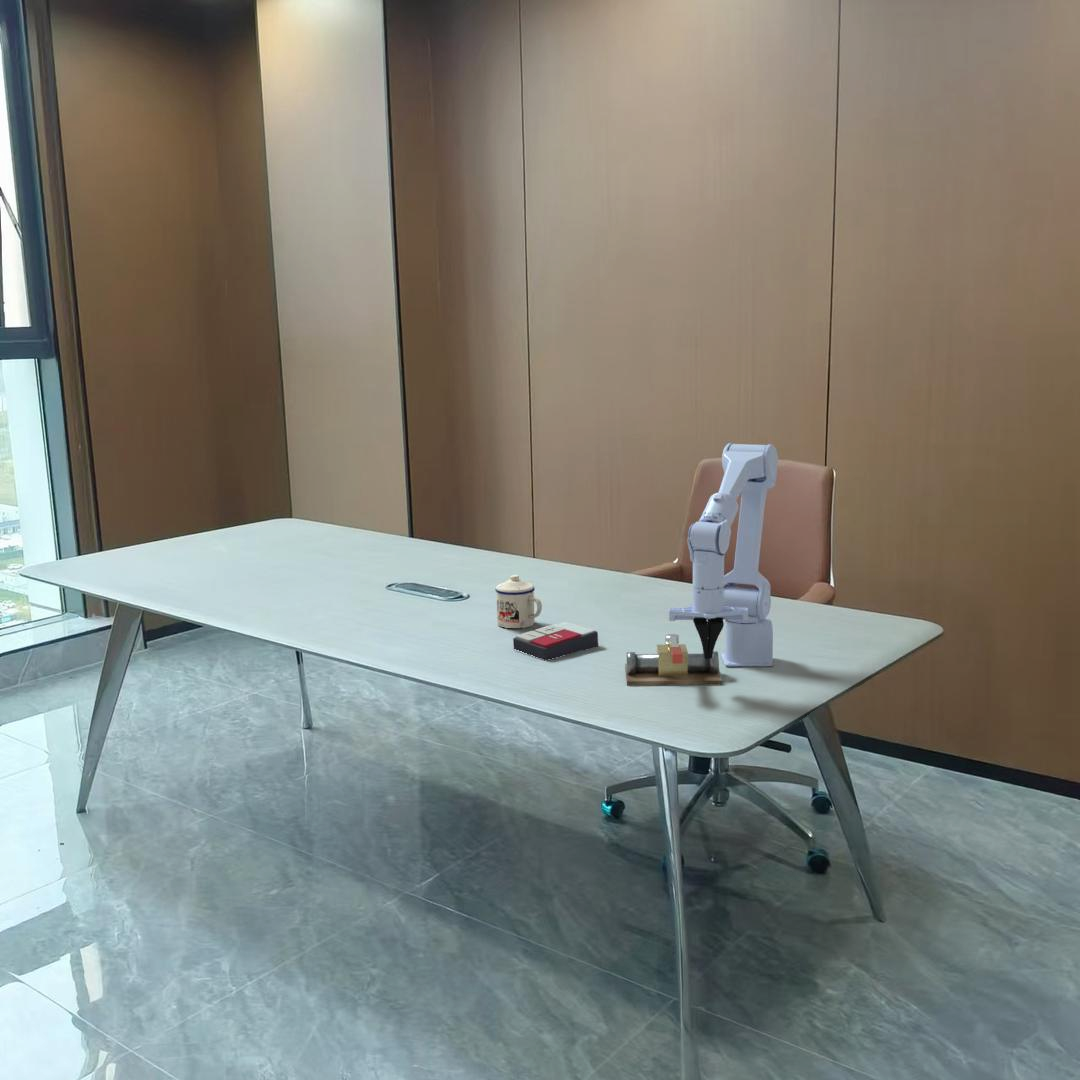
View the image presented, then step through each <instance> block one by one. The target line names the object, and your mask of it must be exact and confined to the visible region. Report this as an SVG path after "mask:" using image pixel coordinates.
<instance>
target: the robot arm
mask: <svg viewBox="0 0 1080 1080" xmlns="http://www.w3.org/2000/svg"><path fill="white" fill-rule="evenodd" d="M778 464H779V457H778V451H777V449H776V447H775V446H774V444H770V443H768V444H745V443H742V444H741V443H739V444H738V443H733V442H732V443H731V442H729V443H727V444H726V445H725V446H724V448H723V451H722V455H721V465H722V466H721V467H722V469H723V477H722V481H721V483H720V487H719V490H718V492H716V493H714V494H711V496H710V497H709V499H708V501H707V504H706V506H705V508H704V510H703V512H702V513H701V516H700V518H699V520H697V521H696V522H694V523H692V524H691V525H690V527H689V529H688V533H687V538H686V539H687V547H688V551H689V560H690V562H692V606H685V607H673V608H671V607H670V608H668V611H667V612H668V615H667V616H668V621H669V622H675V621H692V622H693V623H694V627H695V628H696V631H697V633H698V635H699V639H700V643H701V647H702V652H703V653H702V654H703V655H704V658H705V659H712V655H713V651H714V649H715V646H716V643H717V640H718V639H719V636H720V635H721V632H722V630H723V628H724V652H721V653H720V656H721V658H722V662H723V663H724V666H725V667H773V666H774V664H773V663H774V662H773V659H774V657H773V654H774V653H773V651H774V650H773V646H774V632H773V623H772V620H771V619H770V618H767V617H768V615H769V614H770V611H771V607H772V606H771V604H772V598H771V583H770V582H769V580H768V579H767V578H766V577H765V576H764V575H763V574H761V572H759V565H760V555H761V543H762V535H763V528H764V526H763V525H764V518H765V517H764V516H765V515H764V514H765V507H766V506H765V505H766V501H767V495H768V490H770V489H772V488H775V484H776V481H777V475H778ZM739 496H741V498H740V506H739V503H738V498H739ZM738 511H739V516H738V524H737V525H738V527H737V534H736V535H737V537H736V546H735V555H734V563H733V564H734V565H733V569H732V570H731V571H729V572H728V573H726V574H725V554H726V553H727V551H728V549H729V546H730V539H731V534H732V530H731V529H732V528H731V527H732V524H733V523H734V520H735V517H736V516H737V513H738ZM741 585H746V586H741ZM747 585H748V586H747ZM752 586H756V587H752ZM724 620H725V621H724Z"/></svg>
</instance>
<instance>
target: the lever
mask: <svg viewBox="0 0 1080 1080" xmlns="http://www.w3.org/2000/svg"><path fill="white" fill-rule="evenodd" d="M664 640H665V645H668V644H669V645H670V648H671V659H672V663H673V664H682V663H683V654H682V651H681V647H678V644H679V643H680V642H679V641H680V636H679V634H675V633H669V634H668V633H667V634H666V635H665V639H664Z"/></svg>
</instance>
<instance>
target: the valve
mask: <svg viewBox="0 0 1080 1080" xmlns="http://www.w3.org/2000/svg"><path fill="white" fill-rule="evenodd" d="M678 647H681V651H682V654H683V663H682V664H673V663H672V659H671V648H670V645H669V644H656V653H636V651H627V652H626V664H627V674H636V673H654V672H658V676H688V672H709V673H710V674H718V672H719V670H720V667H719V663H720V662H719V661H720V660H719V659H720V658H719V653H718V651H714V650H713V655H712V659H705V658H704V655H703V653H689V652H688V648H687V645H686V644H685V643H684V644H682V643H681V644H678Z"/></svg>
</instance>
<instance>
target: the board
mask: <svg viewBox="0 0 1080 1080" xmlns="http://www.w3.org/2000/svg"><path fill="white" fill-rule="evenodd" d="M624 669H625V671H624V672H625V680H626V685H627V686H668V685H667V684H674V685H673V686H676V685H675V684H723V680H722V677H721V676H720V675H721V674H720V672H719V671H718V674H710V673H709V672H688V676H658V672H654V673H636V674H627V663H624Z"/></svg>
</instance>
